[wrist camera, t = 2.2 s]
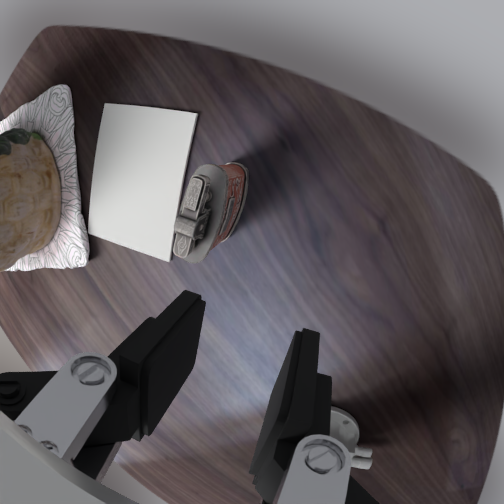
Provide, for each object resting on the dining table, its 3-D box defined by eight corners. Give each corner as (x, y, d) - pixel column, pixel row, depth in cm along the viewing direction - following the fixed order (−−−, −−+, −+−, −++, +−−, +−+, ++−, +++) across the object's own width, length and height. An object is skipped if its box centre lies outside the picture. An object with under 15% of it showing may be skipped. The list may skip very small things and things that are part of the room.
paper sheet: (198, 113, 29) (196, 113, 28) (170, 260, 34) (169, 261, 34) (106, 103, 30) (104, 103, 30) (89, 232, 36) (87, 233, 35)
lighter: (232, 244, 32) (194, 281, 23) (201, 233, 32) (154, 264, 23) (256, 168, 29) (223, 173, 20) (223, 157, 29) (178, 159, 20)
